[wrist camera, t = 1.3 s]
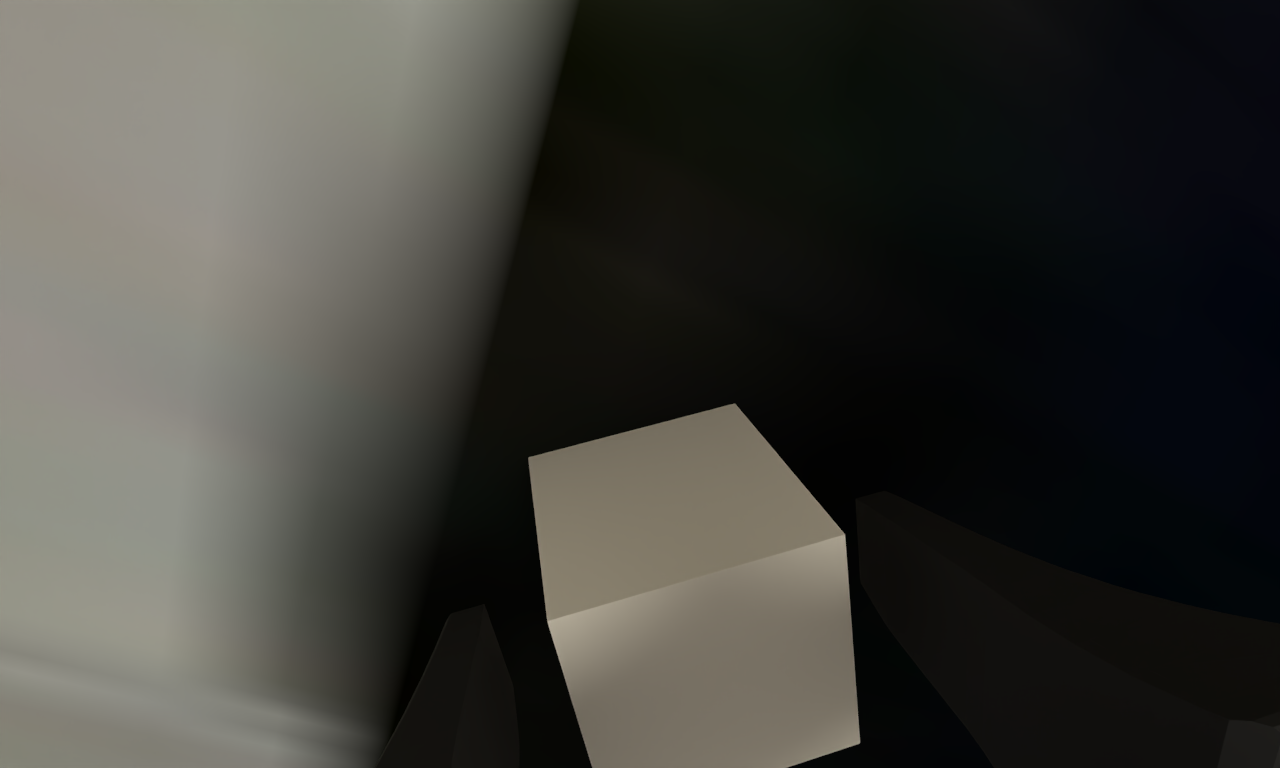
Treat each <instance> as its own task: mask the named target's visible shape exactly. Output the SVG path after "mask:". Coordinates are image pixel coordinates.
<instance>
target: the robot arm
mask: <svg viewBox="0 0 1280 768" xmlns="http://www.w3.org/2000/svg"><path fill="white" fill-rule="evenodd" d="M855 502H856V518H857V535H858V552H859V569H860V582H861V584H862V586H863V588H864V589H865V591H866V593H867V594H868V596H869V598H870V600H871V601H872V603H873V605H874V606H875V608H876V610H877V611H878V613H879V614H880V616H881V618H882V619H883V621H884V623H885V624H886V626H887V627H888V629H889V630H890V631H891V633H892V634H893V635H894V637H895V638H896V639H897V640H898V642H899V643H900V644H901V646H902V647H903V648H904V649H905V651H906V652H907V653H908V655H909V656H910V657H911V658H912V660H913V661H914V662H915V663H916V665H917V666H918V667H919V668H920V670H921V671H922V672H923V674H924V675H925V676H926V677H927V679H928V680H929V681H930V682H931V684H932V685H933V686H934V687H935V689H936V690H937V691H938V692H939V694H940V695H941V696H942V697H943V699H944V700H945V701H946V702H947V704H948V705H949V706H950V708H951V709H952V710H953V711H954V713H955V714H956V715H957V716H958V718H959V719H960V720H961V721H962V723H963V724H964V725H965V726H966V728H967V729H968V731H969V732H970V733H971V735H972V736H973V737H974V739H975V740H976V742H977V743H978V744H979V746H980V747H981V748H982V750H983V751H984V753H985V754H986V756H987V757H988V759H989V761H990V762H991V764H992V765H993V767H994V768H1280V624H1277V623H1272V622H1266V621H1261V620H1256V619H1251V618H1246V617H1241V616H1236V615H1231V614H1225V613H1220V612H1216V611H1211V610H1207V609H1203V608H1198V607H1194V606H1189V605H1185V604H1181V603H1177V602H1173V601H1169V600H1166V599H1162V598H1158V597H1154V596H1150V595H1146V594H1142V593H1139V592H1135V591H1132V590H1128V589H1125V588H1121V587H1118V586H1115V585H1111V584H1108V583H1105V582H1102V581H1099V580H1096V579H1093V578H1090V577H1087V576H1084V575H1081V574H1078V573H1075V572H1072V571H1069V570H1066V569H1063V568H1060V567H1058V566H1055V565H1052V564H1049V563H1047V562H1044V561H1042V560H1039V559H1037V558H1034V557H1032V556H1029V555H1027V554H1024V553H1022V552H1019V551H1017V550H1014V549H1012V548H1009V547H1007V546H1005V545H1002V544H1000V543H998V542H995V541H993V540H991V539H988V538H986V537H984V536H982V535H979V534H977V533H975V532H973V531H971V530H969V529H966V528H964V527H962V526H960V525H958V524H956V523H953V522H951V521H949V520H947V519H945V518H943V517H941V516H939V515H937V514H935V513H932V512H930V511H928V510H926V509H924V508H922V507H920V506H918V505H916V504H914V503H912V502H909V501H907V500H905V499H903V498H901V497H899V496H896V495H894V494H892V493H890V492H887V491H885V490H884V491H881V492H877V493H874V494H870V495H867V496H863V497H860V498H856V499H855ZM374 768H519V733H518V723H517V713H516V704H515V696H514V687H513V683H512V680H511V678H510V675H509V672H508V669H507V666H506V664H505V661H504V658H503V655H502V652H501V649H500V647H499V644H498V641H497V638H496V635H495V632H494V630H493V627H492V624H491V621H490V618H489V616H488V613H487V610H486V607H485V604H483V605H479V606H476V607H472V608H469V609H465V610H462V611H458V612H455V613H451V614H450V616H449V617H448V619H447V620H446V623H445V625H444V627H443V630H442V632H441V635H440V637H439V639H438V642H437V644H436V646H435V649H434V651H433V653H432V655H431V658H430V660H429V662H428V664H427V667H426V669H425V671H424V673H423V675H422V678H421V680H420V682H419V684H418V686H417V688H416V690H415V692H414V694H413V696H412V698H411V700H410V702H409V704H408V706H407V708H406V710H405V712H404V714H403V716H402V718H401V720H400V722H399V724H398V726H397V727H396V729H395V731H394V733H393V735H392V737H391V738H390V740H389V742H388V744H387V746H386V747H385V749H384V751H383V753H382V755H381V756H380V758H379V760H378V762H377V764H376V765H375V767H374Z"/></svg>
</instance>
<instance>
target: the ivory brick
mask: <svg viewBox="0 0 1280 768" xmlns="http://www.w3.org/2000/svg"><path fill="white" fill-rule="evenodd" d="M528 461H529V469H530V478H531V487H532V495H533V504H534V512H535V521H536V530H537V538H538V547H539V555H540V564H541V572H542V581H543V590H544V598H545V607H546V615H547V622H548V625H549V629H550V632H551V635H552V638H553V642H554V645H555V648H556V651H557V655H558V658H559V661H560V664H561V668H562V671H563V674H564V677H565V681H566V684H567V687H568V690H569V694H570V697H571V700H572V703H573V707H574V710H575V713H576V716H577V719H578V723H579V726H580V729H581V732H582V736H583V739H584V742H585V745H586V749H587V752H588V755H589V758H590V762H591V765H592V768H787V767H790V766H793V765H796V764H799V763H802V762H805V761H808V760H811V759H814V758H817V757H820V756H823V755H826V754H829V753H832V752H835V751H838V750H841V749H844V748H847V747H850V746H854V745H857V744H860V735H859V721H858V707H857V693H856V679H855V665H854V651H853V637H852V623H851V609H850V595H849V581H848V567H847V553H846V539H845V534H844V533H843V531H842V530H841V529H840V528H839V527H838V525H837V524H836V523H835V522H834V521H833V519H832V518H831V517H830V516H829V515H828V513H827V512H826V511H825V510H824V509H823V508H822V506H821V505H820V504H819V503H818V502H817V500H816V499H815V498H814V497H813V496H812V494H811V493H810V492H809V491H808V490H807V488H806V487H805V486H804V485H803V484H802V483H801V481H800V480H799V479H798V478H797V477H796V475H795V474H794V473H793V472H792V471H791V469H790V468H789V467H788V466H787V465H786V464H785V462H784V461H783V460H782V459H781V458H780V456H779V455H778V454H777V453H776V452H775V450H774V449H773V448H772V447H771V446H770V444H769V443H768V442H767V441H766V440H765V439H764V437H763V436H762V435H761V434H760V433H759V431H758V430H757V429H756V428H755V427H754V425H753V424H752V423H751V422H750V421H749V419H748V418H747V417H746V416H745V415H744V414H743V412H742V411H741V410H740V409H739V408H738V406H737V405H736V404H735V403H734V404H731V405H727V406H723V407H719V408H715V409H712V410H708V411H704V412H700V413H696V414H692V415H689V416H685V417H681V418H677V419H673V420H670V421H666V422H662V423H658V424H654V425H650V426H647V427H643V428H639V429H635V430H631V431H628V432H624V433H620V434H616V435H612V436H608V437H605V438H601V439H597V440H593V441H589V442H586V443H582V444H578V445H574V446H570V447H566V448H563V449H559V450H555V451H551V452H547V453H544V454H540V455H536V456H532V457H528Z"/></svg>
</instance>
